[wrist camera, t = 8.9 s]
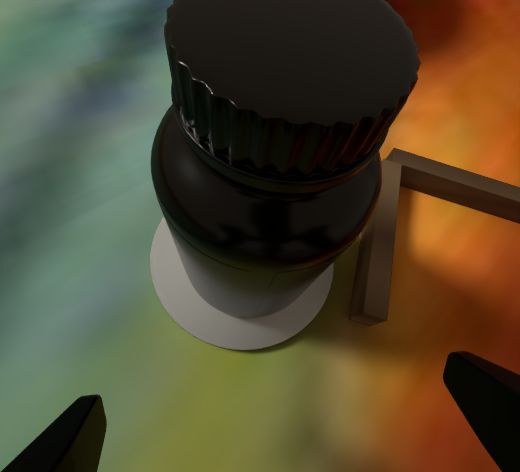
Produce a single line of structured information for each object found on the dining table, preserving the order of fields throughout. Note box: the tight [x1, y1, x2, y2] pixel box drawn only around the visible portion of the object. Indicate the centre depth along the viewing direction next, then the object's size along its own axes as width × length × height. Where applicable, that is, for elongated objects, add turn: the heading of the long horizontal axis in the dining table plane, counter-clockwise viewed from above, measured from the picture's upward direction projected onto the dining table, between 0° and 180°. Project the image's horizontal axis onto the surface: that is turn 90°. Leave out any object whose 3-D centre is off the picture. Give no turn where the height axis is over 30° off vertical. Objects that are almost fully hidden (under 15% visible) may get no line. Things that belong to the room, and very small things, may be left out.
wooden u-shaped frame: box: [349, 148, 520, 326], centre depth 18 cm, size 11×12×2 cm
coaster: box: [150, 217, 334, 350], centre depth 17 cm, size 10×10×1 cm
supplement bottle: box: [151, 0, 421, 318], centre depth 11 cm, size 7×7×12 cm
